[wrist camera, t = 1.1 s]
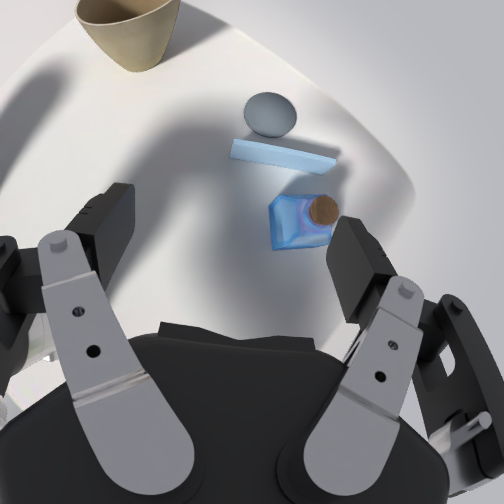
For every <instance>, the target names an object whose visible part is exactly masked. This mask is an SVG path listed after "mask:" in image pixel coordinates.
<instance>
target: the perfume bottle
mask: <svg viewBox="0 0 504 504" xmlns="http://www.w3.org/2000/svg"><path fill="white" fill-rule="evenodd" d="M338 215H339V210H338V206H337V204H336V202H335V201H334V200H333V199H332V198H330V197H328V196H327V195H279V196H278V197H277V198H276V199H275V200H274V201H273V202H272V203H271V204H270V205H269V216H270V228H271V240H272V250H284V249H299V248H314V247H319V246H323V245H328V244H329V243H330V241H331V238H332V235H331V224H332V223H334V222H335V221H336V220H337V218H338Z"/></svg>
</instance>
